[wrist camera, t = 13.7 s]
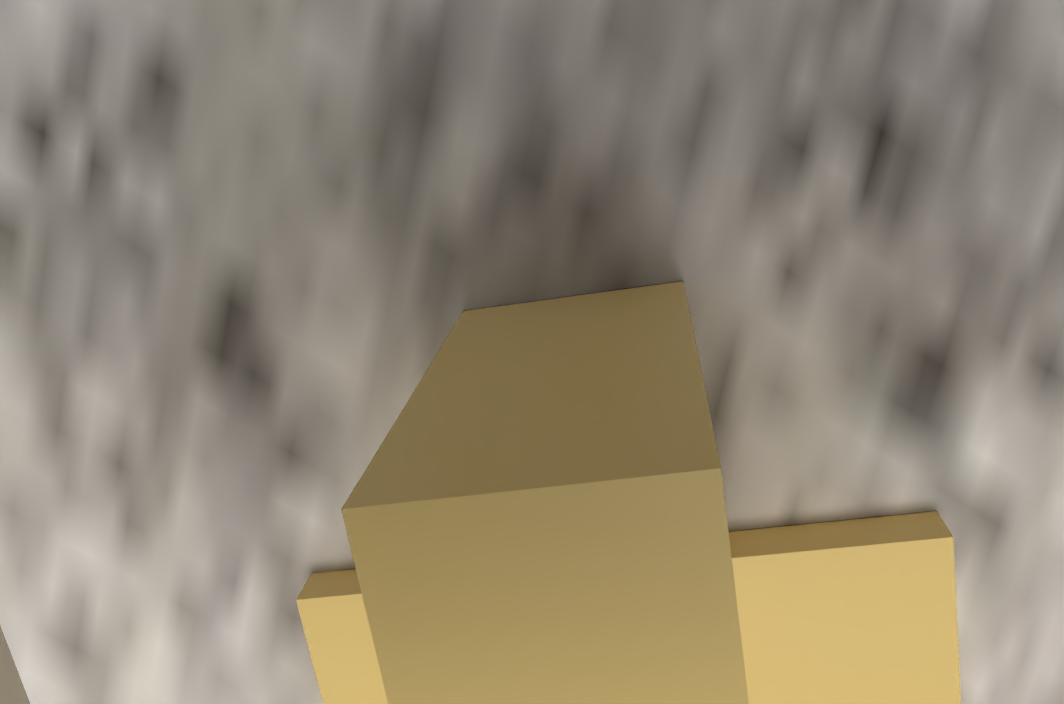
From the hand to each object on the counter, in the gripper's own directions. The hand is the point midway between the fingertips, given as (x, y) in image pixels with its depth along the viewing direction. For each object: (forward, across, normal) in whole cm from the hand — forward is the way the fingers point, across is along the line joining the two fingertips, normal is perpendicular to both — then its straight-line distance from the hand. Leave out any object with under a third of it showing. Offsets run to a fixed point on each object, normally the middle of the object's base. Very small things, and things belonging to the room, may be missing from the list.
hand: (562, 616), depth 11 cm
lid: (+8, 0, -9) cm, 12 cm away
